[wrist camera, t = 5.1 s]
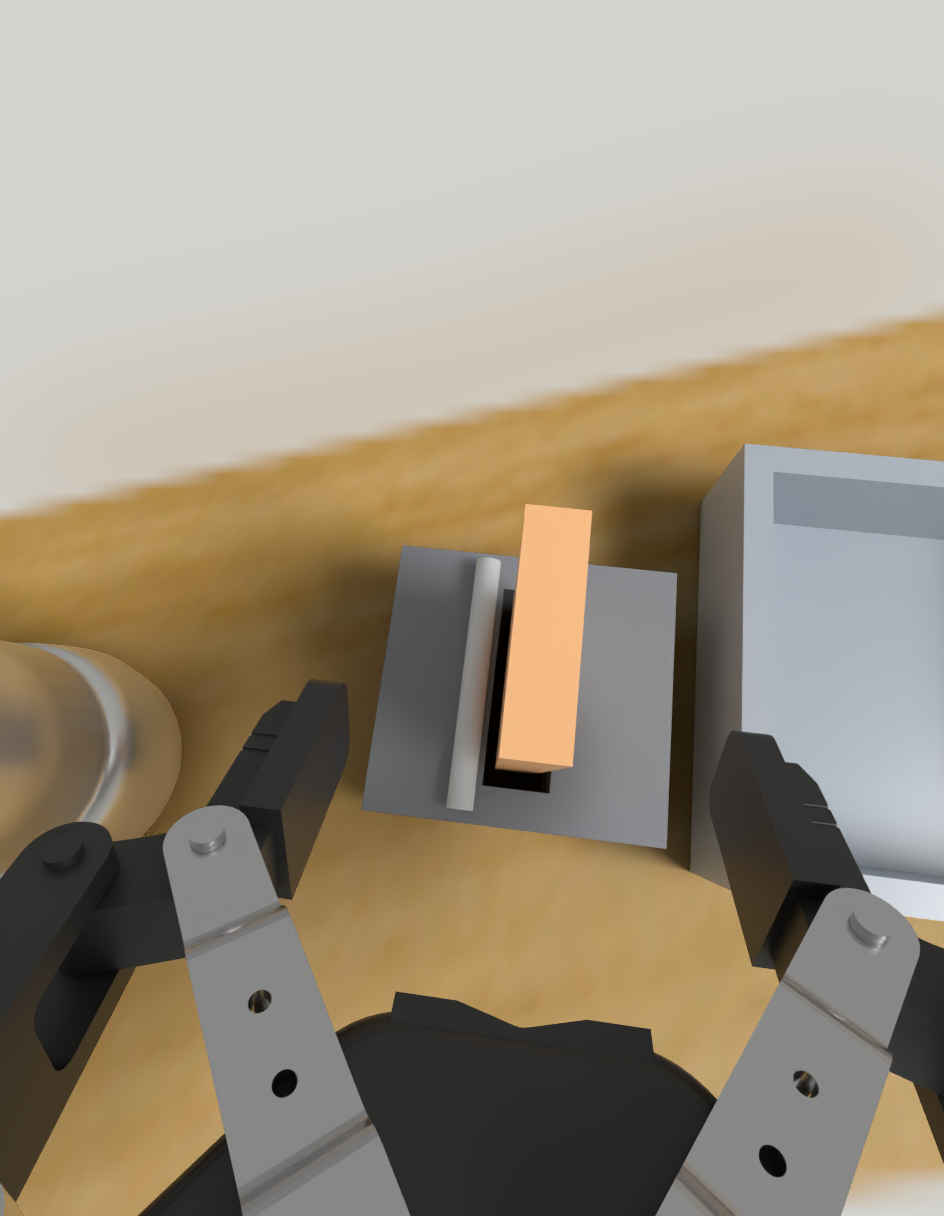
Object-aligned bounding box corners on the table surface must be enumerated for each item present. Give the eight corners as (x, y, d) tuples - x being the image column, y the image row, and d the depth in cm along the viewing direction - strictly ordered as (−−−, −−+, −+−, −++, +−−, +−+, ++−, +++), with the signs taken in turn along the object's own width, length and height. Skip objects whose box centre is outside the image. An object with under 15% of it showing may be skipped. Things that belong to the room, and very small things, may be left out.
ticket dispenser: (380, 805, 20) (355, 811, 16) (414, 576, 22) (399, 536, 18) (640, 839, 19) (674, 851, 16) (651, 601, 21) (684, 565, 18)
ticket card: (494, 769, 20) (498, 757, 10) (509, 630, 21) (525, 504, 12) (532, 774, 20) (572, 767, 10) (545, 634, 21) (592, 510, 12)
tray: (689, 871, 19) (740, 894, 15) (700, 502, 22) (744, 443, 18) (1114, 926, 18) (1279, 965, 15) (1064, 537, 21) (1189, 483, 18)
